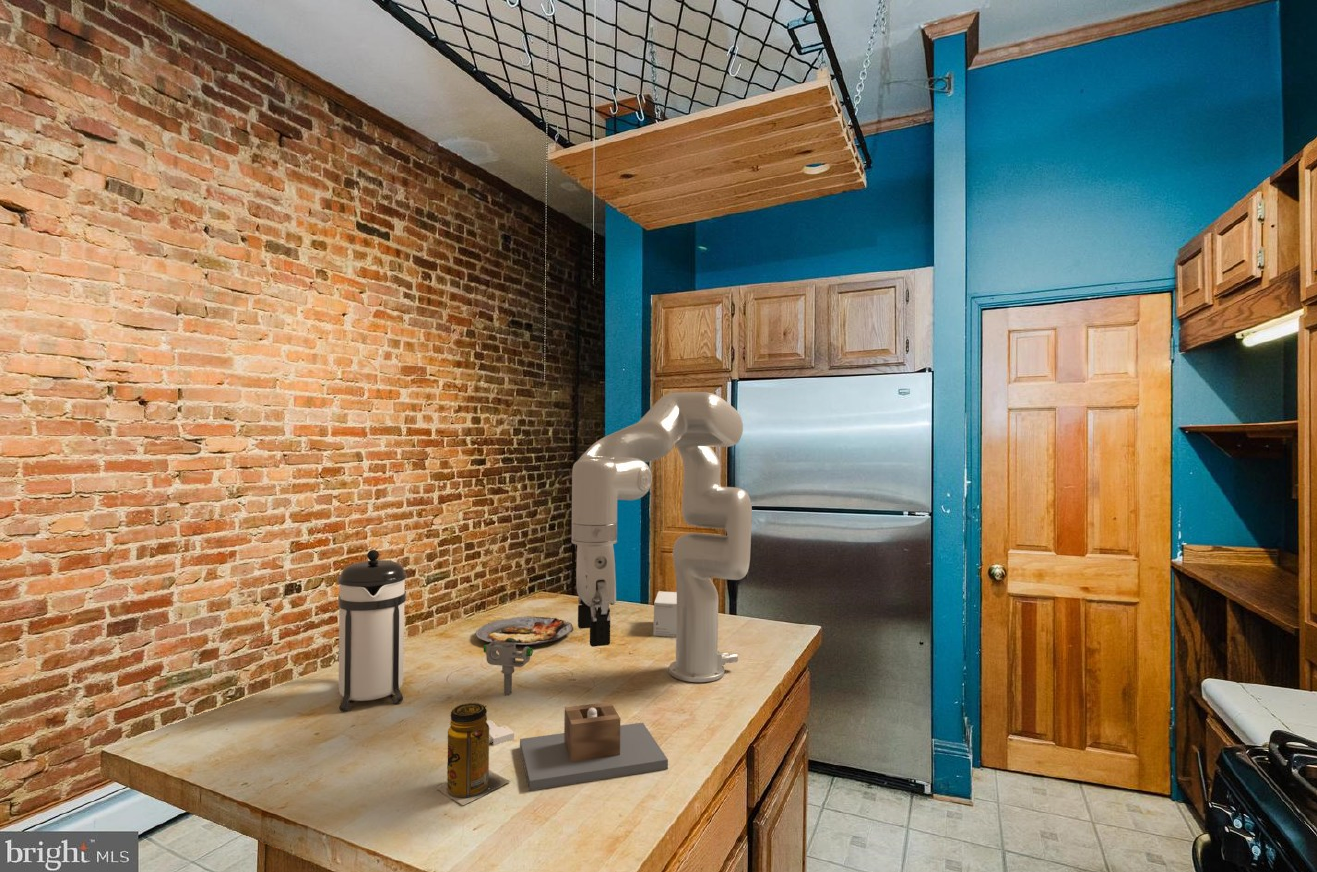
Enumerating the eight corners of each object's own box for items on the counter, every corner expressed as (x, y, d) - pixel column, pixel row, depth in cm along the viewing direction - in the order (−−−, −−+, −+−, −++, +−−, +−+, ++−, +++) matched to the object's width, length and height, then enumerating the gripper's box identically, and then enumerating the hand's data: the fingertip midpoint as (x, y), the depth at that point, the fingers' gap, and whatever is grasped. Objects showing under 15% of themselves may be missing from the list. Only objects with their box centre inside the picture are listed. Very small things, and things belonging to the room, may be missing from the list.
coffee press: (430, 689, 134) (432, 546, 134) (367, 719, 120) (369, 559, 120) (371, 675, 142) (372, 540, 142) (304, 702, 127) (306, 551, 127)
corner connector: (453, 736, 114) (453, 727, 114) (496, 725, 119) (496, 716, 119) (469, 754, 108) (469, 745, 108) (514, 741, 113) (514, 732, 113)
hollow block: (610, 736, 111) (610, 701, 111) (620, 754, 105) (620, 718, 105) (564, 742, 109) (564, 707, 109) (571, 761, 102) (571, 724, 102)
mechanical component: (527, 698, 130) (528, 649, 130) (481, 694, 132) (481, 645, 132) (533, 693, 133) (534, 645, 133) (488, 688, 135) (488, 641, 135)
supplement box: (652, 636, 172) (653, 601, 172) (657, 622, 185) (658, 590, 185) (715, 639, 171) (716, 604, 171) (716, 625, 184) (716, 592, 184)
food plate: (585, 626, 180) (584, 614, 180) (552, 654, 157) (552, 640, 157) (503, 622, 185) (502, 609, 185) (460, 648, 163) (460, 634, 163)
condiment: (435, 788, 97) (436, 709, 97) (483, 767, 103) (484, 692, 103) (462, 806, 92) (463, 723, 92) (511, 783, 99) (511, 705, 99)
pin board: (642, 730, 117) (643, 685, 117) (667, 768, 103) (668, 717, 103) (519, 747, 110) (520, 699, 110) (529, 790, 97) (530, 735, 97)
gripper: (630, 540, 100) (628, 650, 100) (604, 525, 116) (603, 619, 116) (582, 542, 97) (581, 655, 97) (563, 527, 114) (562, 623, 114)
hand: (593, 636), depth 107 cm, fingers open, 9 cm apart
